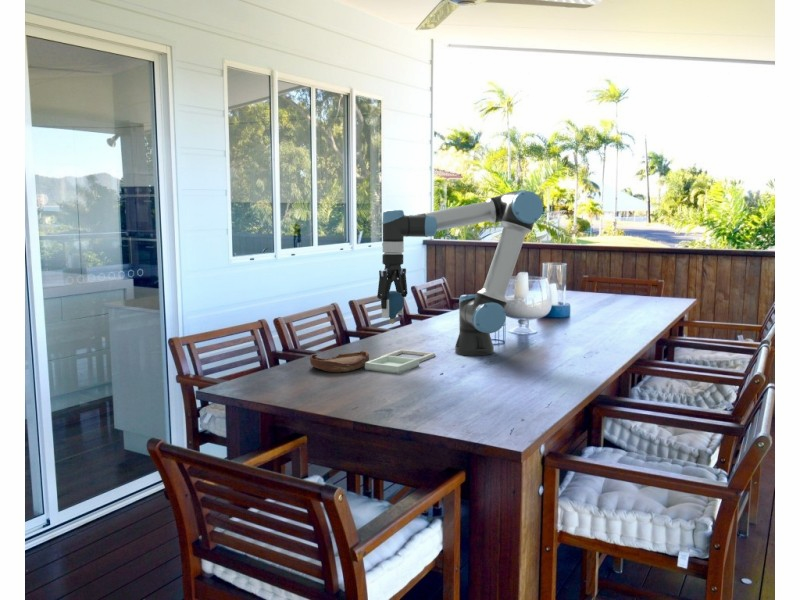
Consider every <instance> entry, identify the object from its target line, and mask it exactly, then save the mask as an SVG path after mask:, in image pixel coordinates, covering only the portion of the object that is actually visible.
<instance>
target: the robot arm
mask: <svg viewBox="0 0 800 600" xmlns="http://www.w3.org/2000/svg"><path fill="white" fill-rule="evenodd" d="M543 205H544V204H543V201H542V199H541V197H540V196H539V195H538V194H537V193H535V192H533V191H531V190H530V191H529V190H527V189H525V190H524V189H523V190H517V191H509V192H507V193H503V194H501V195H498V196H494V197H490V198H487V199H486V201H482V202H476V203H471V204H470V203H469V204H466V205H459V206H455V207H451V208H450V207H449V208H445V209H438V210H433V211H429V212H424V213H418V214H410V215H405V213H404V210H402V209H399V210H398V209H386V210H384V211H383V213H382V222H381V224H382V253H383V254H382V256H381V258H382V264H383V265H384V269H381V270H380V269H379V271H378V276H379V279H378V288H377V298H378V300H380V305H381V318H383V319H390V318H389V300H387V299H388V295H389V292H390V291H391V288H392V283H393V284H394V287H395V290H396V292H399V293H400V294H401V295H402V297H403V299H404V298H407V296H408V293H409V292H408V283H407V276H406V275H407V274H406V273H407V268H406V267H404V268H403V267H402V265H403V264H404V254H403V253H404V250H405V249H404V245H405V244H404V238H405V237H406V238H407V237H413V238H415V237H416V238H422V237H423V238H424V237H425V238H430V237H432V238H433V237H435V236H436V234H437V232H439V231H444V230H448V229H449V230H450V229H454V228H460V227H464V226H465V227H466V226H469V225H477V224H482V223H486V222H487V223H488V222H490V223H491V224H495V223H501V225H502V230H501V234H500V237H499V240H498V243H497V246H496V249H495V251H494V254H493V257H492V260H491V264H490V266H489V270H488V272H487V276H486V277H485V281H484V284H483V287H482V288H481V289H480V290H478V291H477V292H476V294H475V293H474V294H461V295H460V297H459V302H458V305H459V307H458V309H459V310H458V311H459V312H458V313H459V316H458V317H459V318H458V319H459V321H458V322H459V323H458V324H459V326H458V327H459V331H458V337H457V340H456V343H455V347H454V352H455V353H456V354H458V355H461V356H469V357H473V356H474V357H481V356H488V355H489V356H490V355H492V354H494V352H495V350H494V349H495V347H494V343H493V340H492V337H491V334H493V333H496V332H498V331H500V330H501V329H502V328H503V326H504V325H505V322H506V321H507V320H506V318H507V315H506V311H505V309H506V307H507V303H508V300H507V298H506V294H507V290H508V288H509V284H510V282H511V280H512V276H513V274H514V273H513V272H514V271H515V270H514V269H515V266H516V264H517V261H518V258H519V256H520V252H521V249H522V247H523V243H524V241H525V238H526V235H528V234H529V233H531V232H532V230H533V227H534V224H535V223H536V222H537V221H538V220H539V219H540V218H541V217H542V214H543V212H544V206H543ZM404 300H405V299H404ZM396 316H404V307H403V308H402V310H401V311H400V312H398V313H397V315H396Z"/></svg>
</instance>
